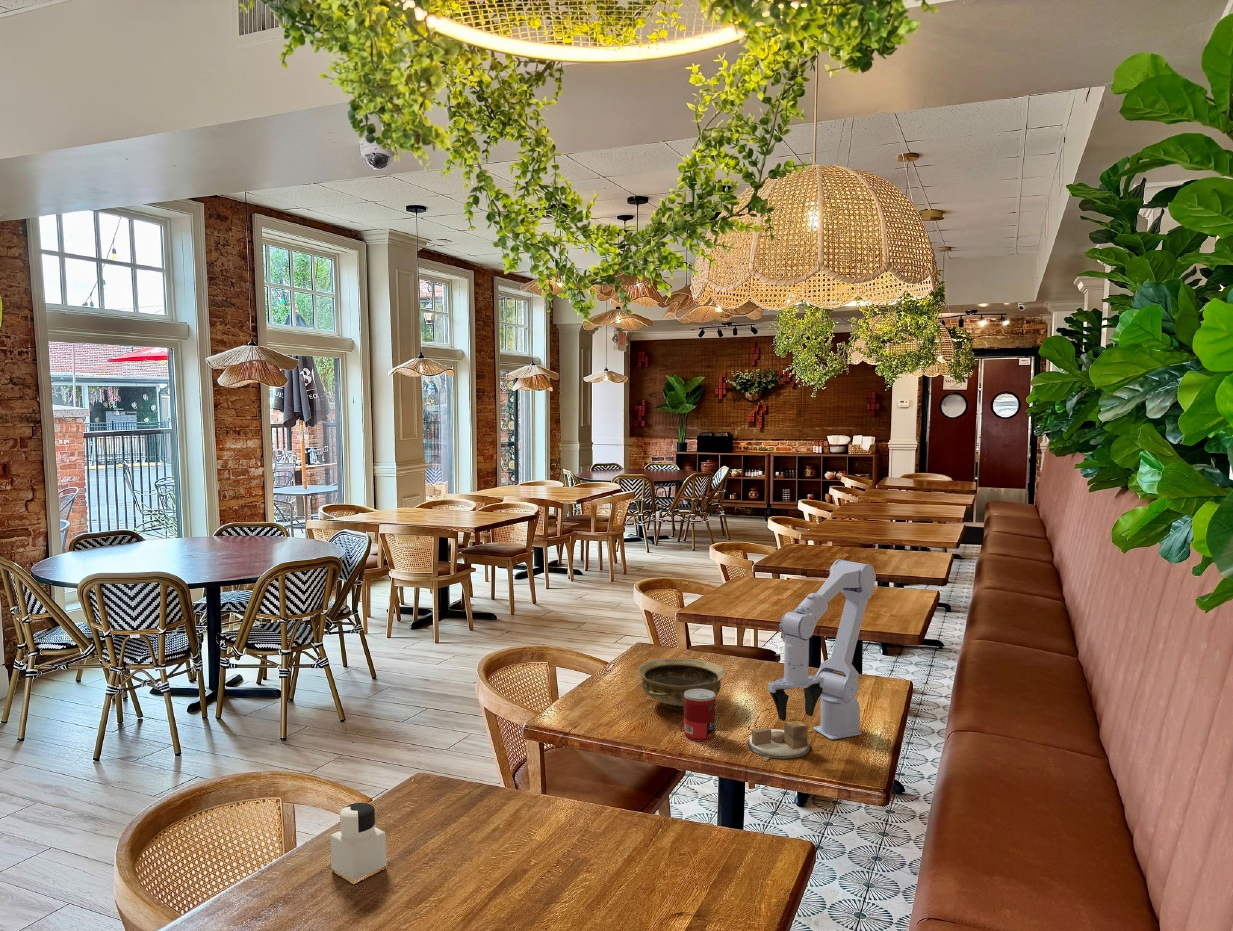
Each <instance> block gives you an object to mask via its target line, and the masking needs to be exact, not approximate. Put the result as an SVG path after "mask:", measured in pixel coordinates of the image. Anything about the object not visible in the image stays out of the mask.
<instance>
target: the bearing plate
mask: <svg viewBox="0 0 1233 931" xmlns="http://www.w3.org/2000/svg"><path fill="white" fill-rule="evenodd" d="M746 745H747V748H748V749H749V750H750V751H751V752H753V753H754V754H757V755H759V756H762V757H765V756H767V757H770V759H774V760H775V759H777V760H790V759H797V758H801V757H803V756H806V755H807V754H808V753H809V752H810V745H809V743H808V742H807V750H806V751H805V752H803V753H801V754H799V755H795V756H784V757H783V756H772V755H767V754H763V753H760V752H758V751H756V750H754V749H753V748H752V747H751V746H750V743H749V739H748V740H747V744H746Z"/></svg>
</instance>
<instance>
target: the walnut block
mask: <svg viewBox="0 0 1233 931" xmlns="http://www.w3.org/2000/svg"><path fill="white" fill-rule="evenodd" d="M783 727H784V728H783V730H784V743H785V744H786V745H788V746H789V747H791V748H792V749H796V748H802V747H807V743H808V731H809V730H808V729H809V728H808V725H806V724H805V723H803V722H801V721H800V720H793V721H787V722H786V721H785V722H784V725H783Z"/></svg>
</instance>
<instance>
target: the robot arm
mask: <svg viewBox="0 0 1233 931" xmlns="http://www.w3.org/2000/svg"><path fill="white" fill-rule="evenodd" d="M876 578H877V575H876V571H875V569H874V567H873V565H872V564H871V563H860V562H857V561H849V560H844V559H841V558H838V559H837V560H835V561H834V562H833V563H832V565H831V566H830V568H829V576H828V577H827V579H826V580H825V581H824V583H822V585H821V586H820V588H819V589H818V590H817V591H816V592H811V593H808V594H807V595H806V597H805V598H804V599H803V600H802V601H801V602H800V603H799V604H798V606H797V607H796V608H795V609H793V611H788V612H786V613H784V614H783V615H782V616H781V618H780V623H779V626H778V627H779V631H780V633H781V636H782V641H783V643H784V651H783V652H784V658H783V659H784V660H783V662H784V663H783V664H784V667H783V669H784V672H783V674H784V675H783V678H779V679H777V680H775V681H770V682H768V683H767V691H768V692H769V694H770V696H771V697H772V699H773V700H772V701H773V702H774V705H775V708H776V712H777V715H778V716H777V717H778V719H779V720H781V721H782V722H786V720H787V706H788V701H789V698H790V696H789V695H788V694H786V690H787V691H788V690H793V689H799V688H800V689H803V693H804V694H803V695H804V711H805V714H806V715H807V716H809V717H813V716H814V713H815V708H816V706H817V703H818V700H819V698H820V725H817V726H813V730H814V731H816V732H818V733H819V734H821V735H822V736H824V737H826V738H827V739H829V740H830V741H831V740H838V739H844V738H850V737H855V736H861V735H863V732H861V730H860V729H861V707H860V703H859V701H858V700H857V698H856V696H857V695H858V690H859V677H860V673H859V672H858V670H856V668H855V667H854V666H853V664H852V663H853V658H854V654H855V650H856V647H857V642H858V640H859V635H860V631H861V628H862V624H863V620H864V616H865V612H866V609H867V608H866V607H867V604H868V601H869V599H871V598H872V595H873V591H874V587H875V584H876V583H875V582H876V580H877V579H876ZM839 593H841V594H842V595H844V597H845V602H844V606H843V610H842V614H841V618H840V622H839V625H838V628H837V629H838V630H837V633H836V637H835V641H834V645H833V649H832V652H831V655H830V656H831V657H830V658H828V659H826V660H823V661H822V662H821V663H820V666H819V668H818V671H817V672H816V674H815V675H809V661H810V660H809V659H810V658H809V657H810V656H809V654H810V653H809V651H810V649H809V648H810V647H809V646H810V638H812V636H813V634H814V631H815V628H816V626H817V624H818V621H819V620H820V619H821V618H822V616H823V615H824V614H825V613H826V612H827V610H828V609H829V606H828V603H829V602H830V601H831V600H832V599H833V598H834V597H836V596H837V594H839Z"/></svg>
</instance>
